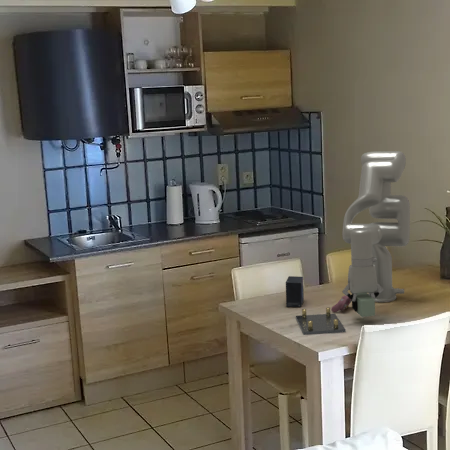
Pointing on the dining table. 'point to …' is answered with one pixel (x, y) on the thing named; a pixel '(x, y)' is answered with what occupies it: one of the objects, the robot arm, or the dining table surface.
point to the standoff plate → (319, 323)
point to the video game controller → (341, 304)
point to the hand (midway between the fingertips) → (363, 309)
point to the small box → (294, 291)
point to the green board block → (365, 305)
